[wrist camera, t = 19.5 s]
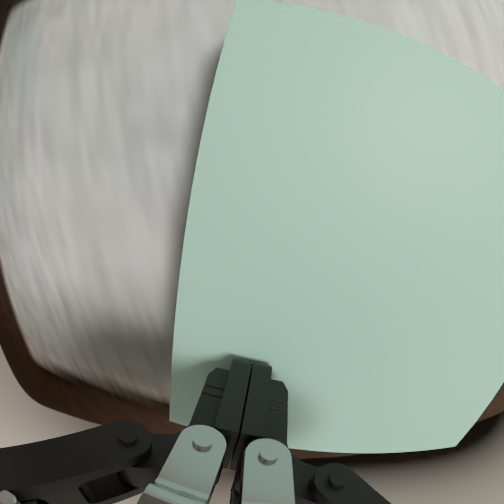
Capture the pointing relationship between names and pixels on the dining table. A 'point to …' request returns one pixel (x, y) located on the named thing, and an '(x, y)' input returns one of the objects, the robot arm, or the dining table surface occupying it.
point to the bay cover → (346, 232)
